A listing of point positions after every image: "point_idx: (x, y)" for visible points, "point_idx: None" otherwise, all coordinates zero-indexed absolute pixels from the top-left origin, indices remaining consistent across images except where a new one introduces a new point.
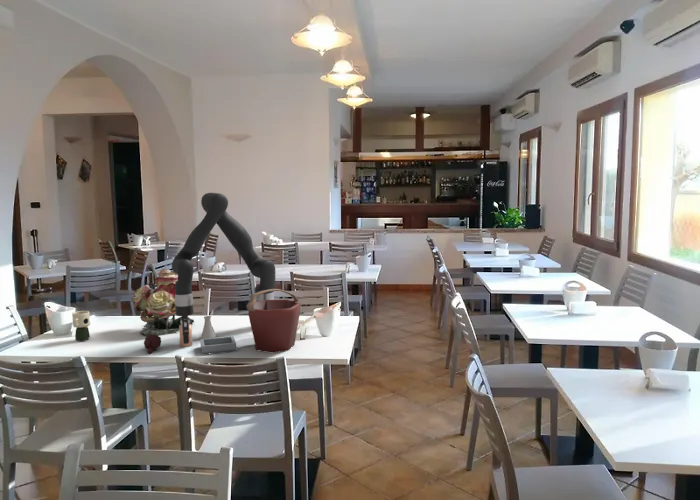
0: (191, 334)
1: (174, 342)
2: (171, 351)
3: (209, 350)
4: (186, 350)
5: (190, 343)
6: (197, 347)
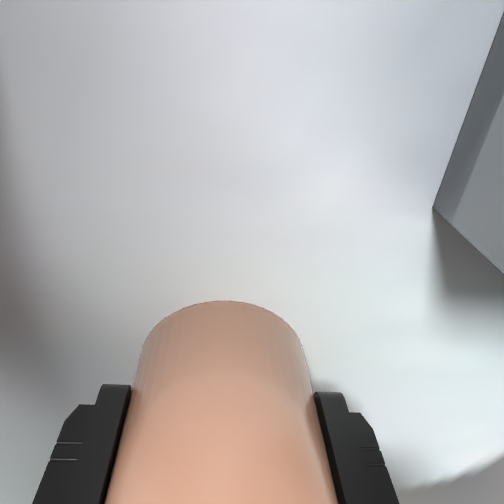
0: (286, 470)
1: (32, 455)
2: None
3: None
4: (457, 376)
5: (294, 353)
6: (418, 254)
